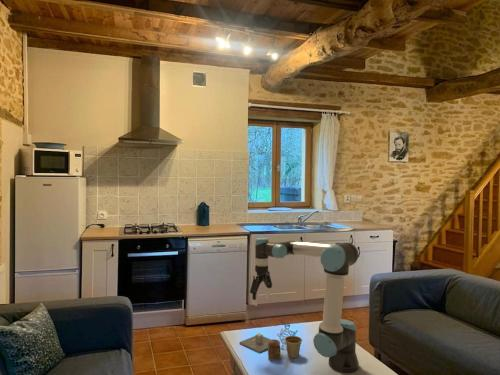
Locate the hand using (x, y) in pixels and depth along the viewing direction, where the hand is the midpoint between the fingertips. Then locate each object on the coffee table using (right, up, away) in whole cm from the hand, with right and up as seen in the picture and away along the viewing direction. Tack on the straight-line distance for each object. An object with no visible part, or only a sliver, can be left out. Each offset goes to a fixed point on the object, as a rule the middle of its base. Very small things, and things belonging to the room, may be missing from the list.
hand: (261, 301), depth 211 cm
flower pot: (+17, -26, -11) cm, 33 cm away
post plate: (-1, -25, +2) cm, 25 cm away
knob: (+6, -26, -13) cm, 29 cm away
